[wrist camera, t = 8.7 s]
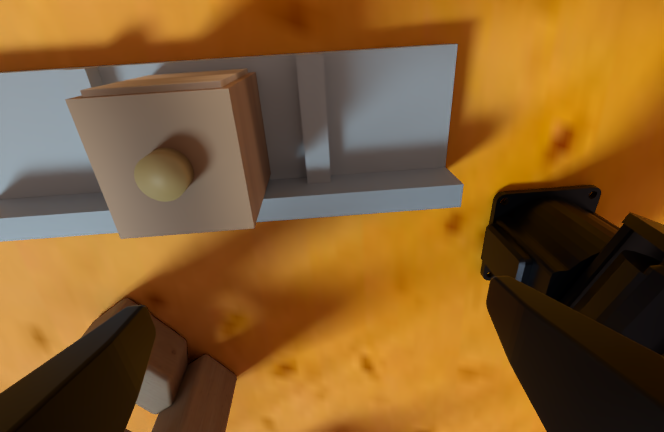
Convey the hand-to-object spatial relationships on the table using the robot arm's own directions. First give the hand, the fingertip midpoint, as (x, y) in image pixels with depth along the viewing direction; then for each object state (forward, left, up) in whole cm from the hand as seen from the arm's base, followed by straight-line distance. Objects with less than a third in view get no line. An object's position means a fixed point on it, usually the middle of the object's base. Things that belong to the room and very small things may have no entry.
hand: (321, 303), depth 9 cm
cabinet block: (+5, -2, -10) cm, 12 cm away
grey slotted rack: (+5, -2, -12) cm, 13 cm away
